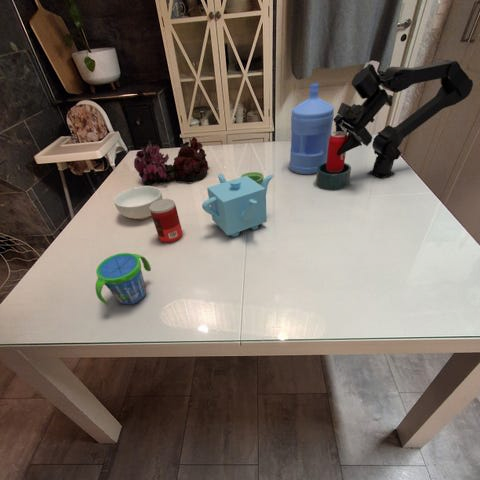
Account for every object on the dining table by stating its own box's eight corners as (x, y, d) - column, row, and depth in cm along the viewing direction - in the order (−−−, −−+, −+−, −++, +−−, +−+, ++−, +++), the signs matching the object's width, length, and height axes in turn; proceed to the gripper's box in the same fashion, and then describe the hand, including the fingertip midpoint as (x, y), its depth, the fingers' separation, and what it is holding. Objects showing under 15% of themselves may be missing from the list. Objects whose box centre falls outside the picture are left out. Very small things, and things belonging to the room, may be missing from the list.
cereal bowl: (175, 211, 110) (170, 192, 104) (137, 231, 102) (130, 211, 97) (148, 199, 118) (143, 181, 113) (112, 216, 111) (104, 198, 106)
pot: (335, 173, 119) (337, 159, 115) (355, 184, 111) (358, 169, 107) (309, 181, 116) (311, 166, 112) (328, 193, 109) (330, 177, 105)
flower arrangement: (207, 163, 138) (201, 126, 127) (212, 181, 125) (206, 141, 114) (140, 175, 136) (128, 138, 125) (138, 193, 123) (124, 154, 112)
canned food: (187, 231, 99) (179, 199, 91) (176, 244, 94) (166, 212, 86) (166, 229, 101) (157, 197, 93) (155, 242, 96) (144, 210, 88)
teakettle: (204, 238, 95) (195, 193, 84) (223, 209, 107) (217, 166, 96) (261, 244, 91) (259, 197, 80) (274, 213, 102) (274, 168, 91)
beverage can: (346, 169, 110) (352, 132, 101) (335, 175, 107) (340, 138, 99) (333, 165, 113) (337, 129, 104) (322, 170, 111) (325, 134, 102)
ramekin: (268, 187, 116) (268, 175, 113) (250, 195, 113) (250, 183, 109) (254, 180, 121) (253, 169, 118) (236, 188, 118) (235, 177, 115)
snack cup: (119, 322, 73) (101, 291, 66) (96, 304, 78) (77, 274, 71) (167, 287, 81) (156, 256, 73) (143, 273, 86) (131, 243, 78)
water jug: (300, 158, 133) (304, 78, 112) (333, 163, 126) (344, 79, 105) (282, 171, 125) (284, 88, 104) (317, 177, 118) (325, 90, 97)
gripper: (342, 85, 100) (309, 129, 107) (371, 96, 87) (331, 145, 95) (360, 109, 106) (327, 148, 113) (389, 123, 94) (350, 166, 101)
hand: (333, 151), depth 105 cm, fingers closed on beverage can, 6 cm apart
